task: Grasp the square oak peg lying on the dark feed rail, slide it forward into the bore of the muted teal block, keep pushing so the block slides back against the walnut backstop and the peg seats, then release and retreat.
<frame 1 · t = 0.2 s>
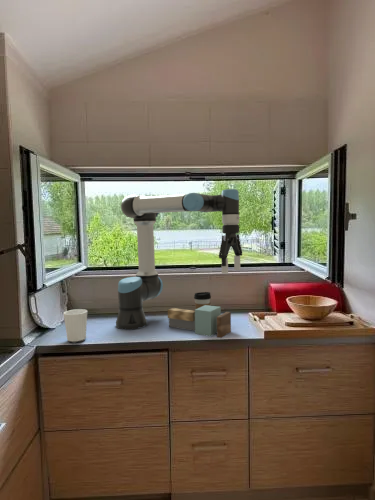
hand: (231, 271, 155), 28 cm above the countertop, fingers open, 13 cm apart
cup: (76, 341, 149), on the countertop
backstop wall: (224, 334, 153), on the countertop
bore block: (208, 320, 157), point 6 cm above the countertop, slide at 0.0 cm
oak peg: (182, 318, 164), point 4 cm above the countertop, touching feed rail
coffee cup: (203, 322, 173), on the countertop
feed rail: (183, 327, 164), on the countertop
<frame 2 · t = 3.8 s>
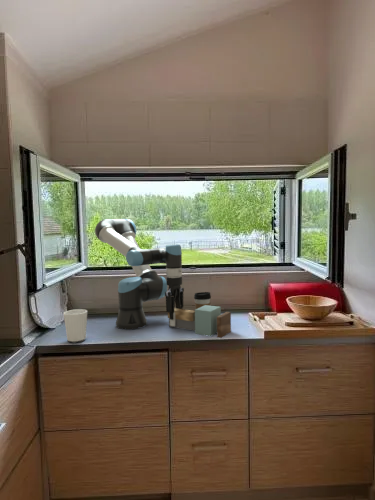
hand: (175, 324, 166), 1 cm above the countertop, fingers closed on oak peg, 4 cm apart
oak peg: (182, 318, 164), point 5 cm above the countertop, touching feed rail, gripper
everything else where it was.
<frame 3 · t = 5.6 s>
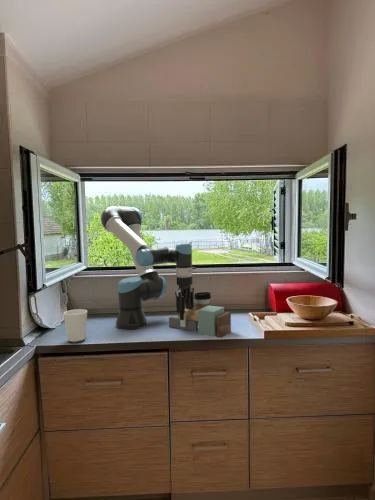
hand: (185, 325, 163), 2 cm above the countertop, fingers closed on oak peg, 4 cm apart
bore block: (211, 320, 156), point 5 cm above the countertop, slide at 1.7 cm
oak peg: (192, 319, 161), point 5 cm above the countertop, touching gripper
everything else where it was.
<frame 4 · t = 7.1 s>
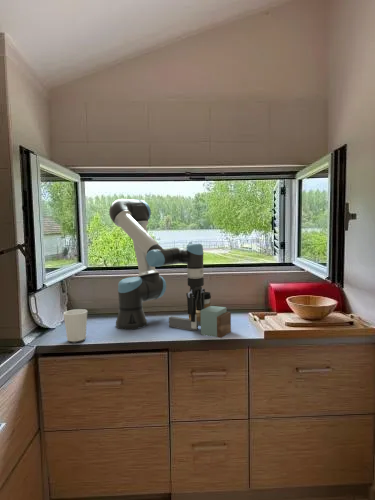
hand: (196, 326, 160), 2 cm above the countertop, fingers closed on oak peg, 4 cm apart
bore block: (213, 320, 155), point 6 cm above the countertop, slide at 2.9 cm, touching oak peg
oak peg: (204, 320, 158), point 5 cm above the countertop, touching bore block, gripper
everything else where it was.
when the fingers open (1 cm above the countertop, at t = 8.2 s): oak peg stays where it is, resting on bore block, feed rail.
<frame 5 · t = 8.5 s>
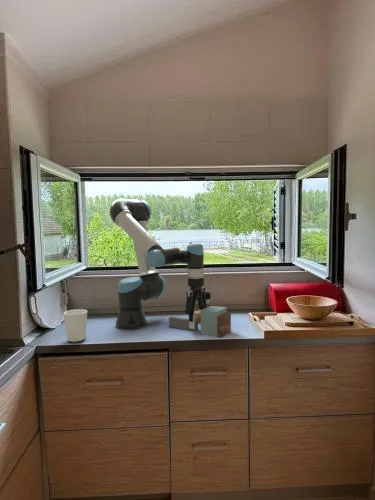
hand: (196, 325, 160), 2 cm above the countertop, fingers open, 8 cm apart
oak peg: (204, 321, 158), point 4 cm above the countertop, touching bore block, feed rail
everything else where it was.
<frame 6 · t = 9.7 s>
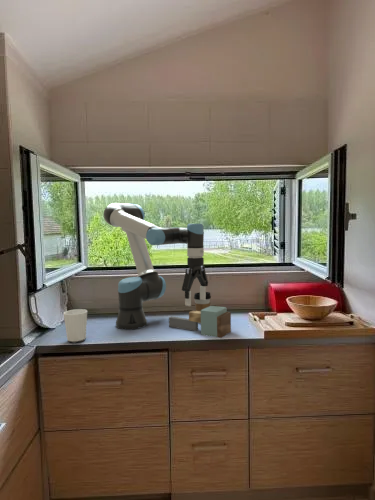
hand: (195, 302, 159), 13 cm above the countertop, fingers open, 13 cm apart
nothing on the countertop moved.
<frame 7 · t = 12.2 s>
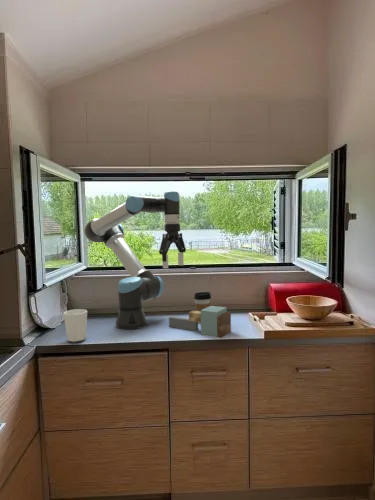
hand: (173, 266, 169), 29 cm above the countertop, fingers open, 13 cm apart
nothing on the countertop moved.
at the end: oak peg 0.1 cm from the target spot on the bore block, point 4.5 cm above the bore block's base; bore block slide at 3.0 cm; the gripper is holding nothing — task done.
